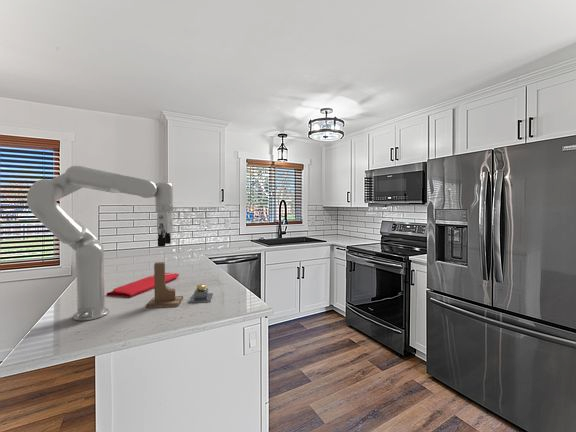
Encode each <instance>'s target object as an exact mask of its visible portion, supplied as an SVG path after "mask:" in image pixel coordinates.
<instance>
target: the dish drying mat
mask: <svg viewBox="0 0 576 432" xmlns="http://www.w3.org/2000/svg"><path fill="white" fill-rule="evenodd" d="M179 275H180V274H179V273H174V272H173V273H172V272H165V284H167V283H168V282H171V281H174V280H175V279H177V278H178V277H179ZM153 289H155V288H154V274H152V275H150V276H147V277H144V278H141V279H138V280H135V281H132V282H129V283H127V284H123V285H121V286H118V287H116V288H114V289H112V291H109V292H106V296H107V297H120V298H130V299H131V298H133V297H136V296H138V295H140V294H144V293H146V292H149V291H150V290H153Z"/></svg>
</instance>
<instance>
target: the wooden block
mask: <svg viewBox="0 0 576 432" xmlns="http://www.w3.org/2000/svg"><path fill="white" fill-rule="evenodd" d="M153 272H154V273H153V275H154V288H153V289H154V297H155V302H163V301H172V300H175V296H176V289H175V288H170V287H168V286H167V283H165V273H166V262H165V261H162V262H161V261H160V262H159V261H158V262H157V261H156V262H154V264H153Z"/></svg>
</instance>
